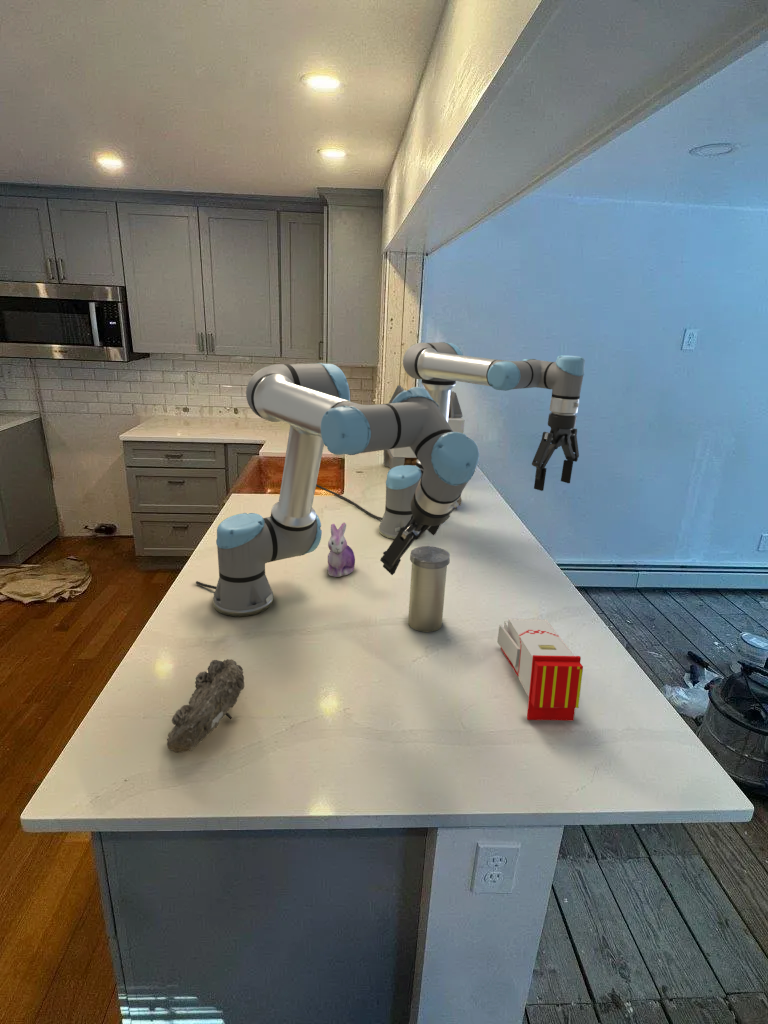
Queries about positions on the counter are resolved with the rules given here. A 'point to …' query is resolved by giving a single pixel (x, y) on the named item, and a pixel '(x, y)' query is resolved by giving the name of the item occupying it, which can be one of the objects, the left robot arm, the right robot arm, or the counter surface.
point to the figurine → (339, 553)
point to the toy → (542, 668)
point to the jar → (426, 598)
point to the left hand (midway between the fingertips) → (409, 549)
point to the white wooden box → (406, 454)
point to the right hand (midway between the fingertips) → (552, 485)
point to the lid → (430, 557)
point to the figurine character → (459, 501)
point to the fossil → (206, 705)
